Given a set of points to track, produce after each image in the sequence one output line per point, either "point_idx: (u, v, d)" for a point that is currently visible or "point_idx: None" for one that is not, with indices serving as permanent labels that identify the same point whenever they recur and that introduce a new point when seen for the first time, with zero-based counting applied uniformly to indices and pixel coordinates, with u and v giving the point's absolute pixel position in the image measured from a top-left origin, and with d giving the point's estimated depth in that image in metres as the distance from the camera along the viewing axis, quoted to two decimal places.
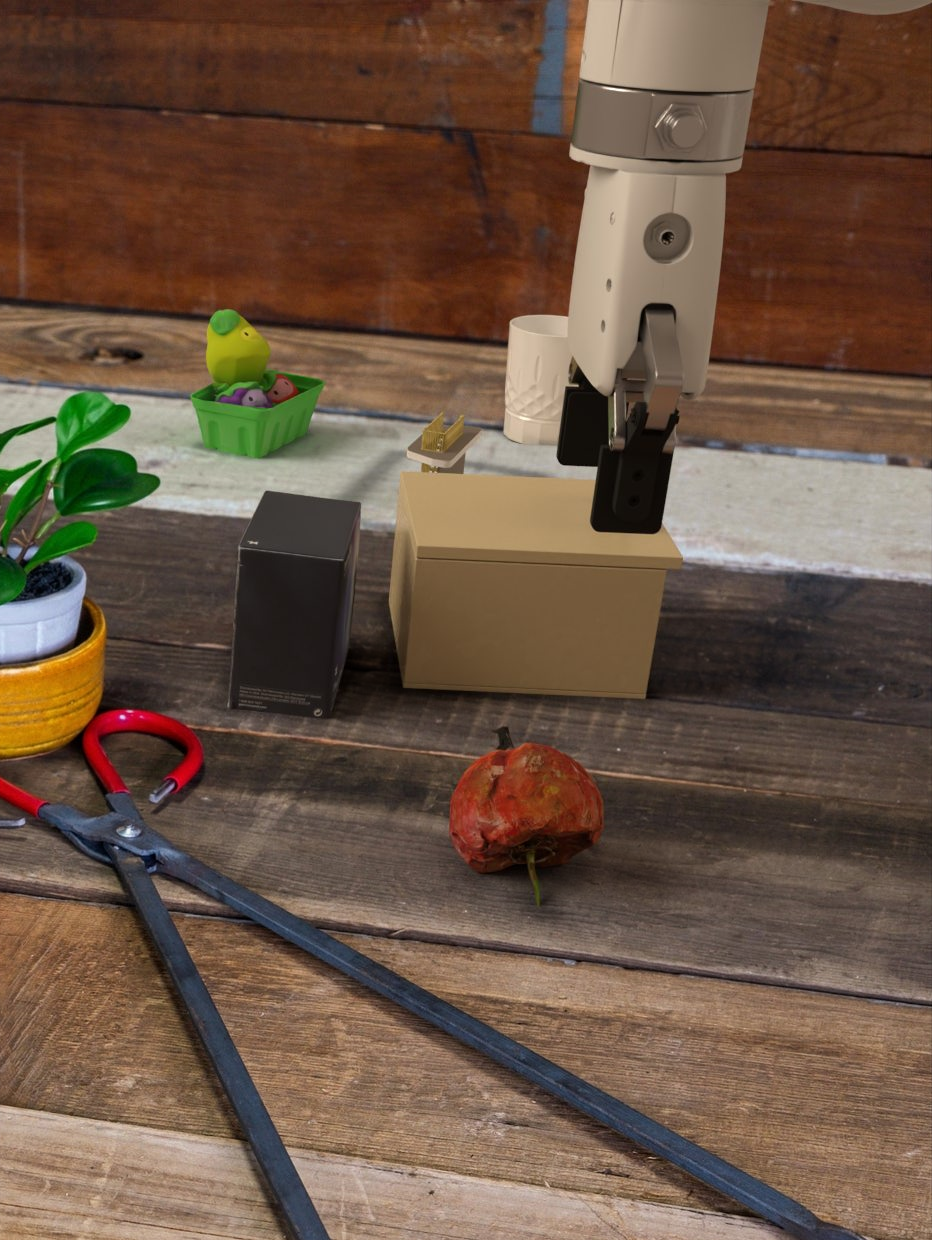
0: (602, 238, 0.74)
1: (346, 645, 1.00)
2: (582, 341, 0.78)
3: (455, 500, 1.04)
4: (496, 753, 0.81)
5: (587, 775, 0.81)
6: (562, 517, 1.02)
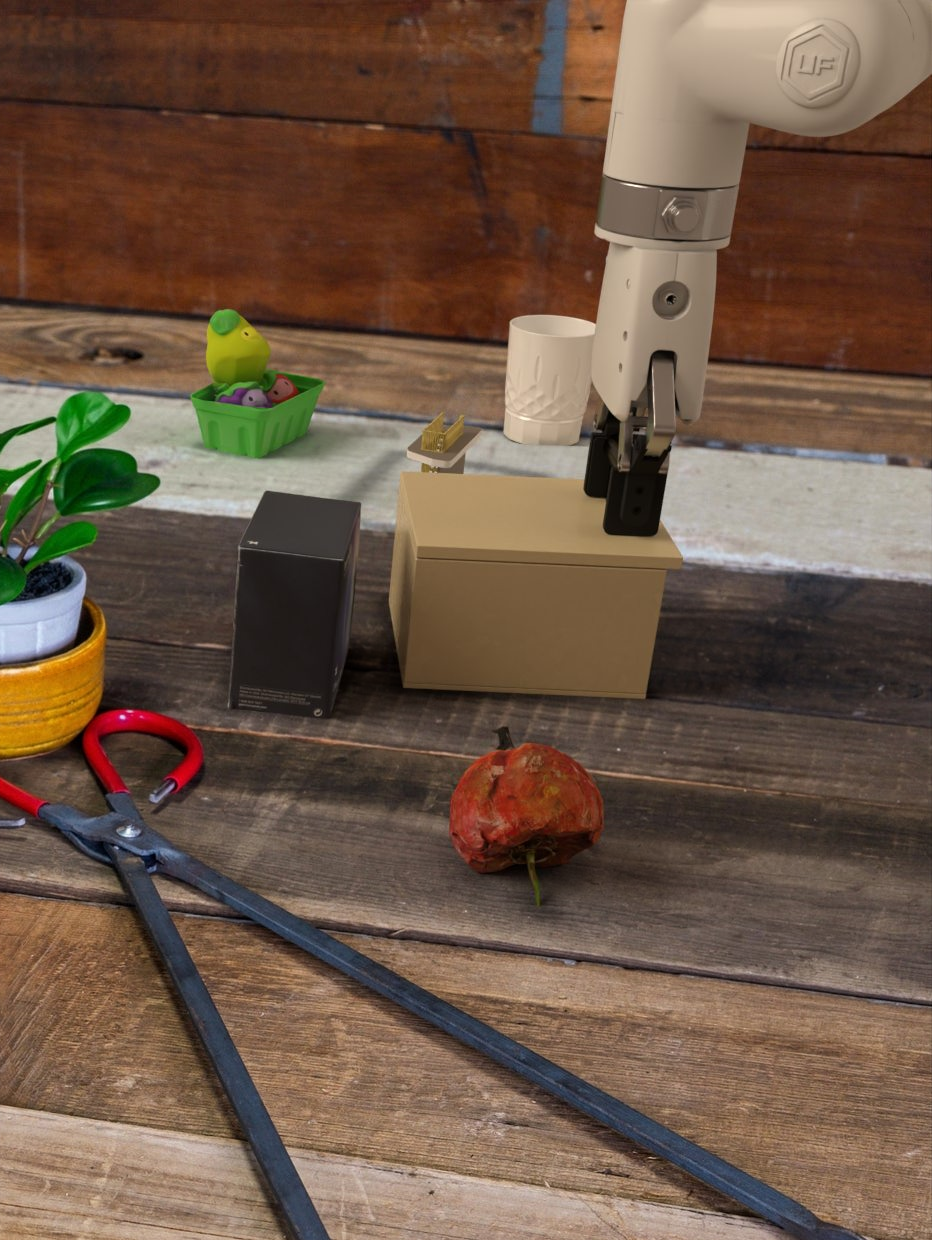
0: (620, 298, 0.95)
1: (346, 645, 1.00)
2: (603, 378, 0.99)
3: (455, 500, 1.04)
4: (496, 753, 0.81)
5: (587, 775, 0.81)
6: (562, 517, 1.02)
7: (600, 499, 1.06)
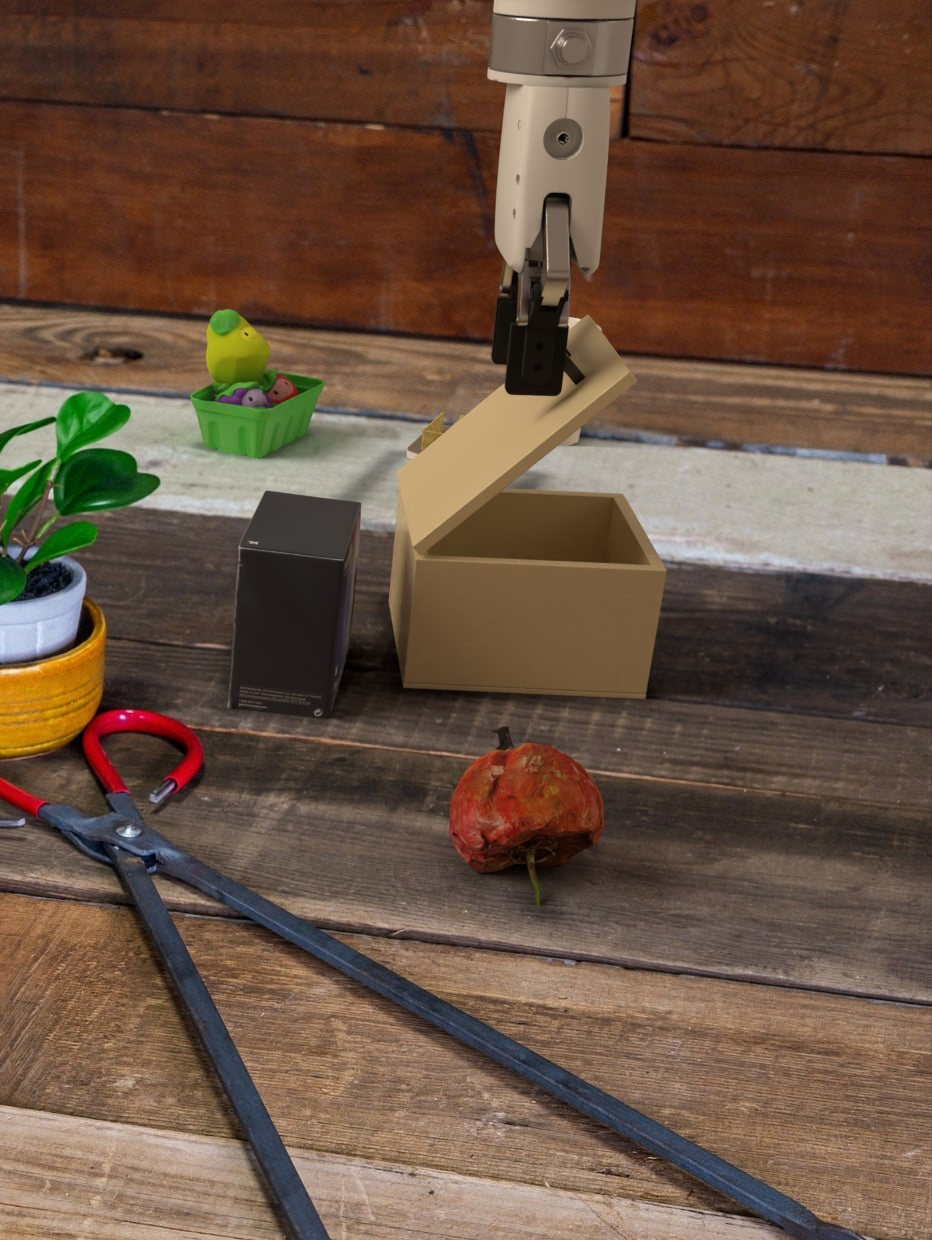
0: (513, 142, 0.91)
1: (346, 645, 1.00)
2: (501, 231, 0.95)
3: (440, 468, 1.03)
4: (496, 753, 0.81)
5: (587, 775, 0.81)
6: (526, 412, 1.00)
7: None
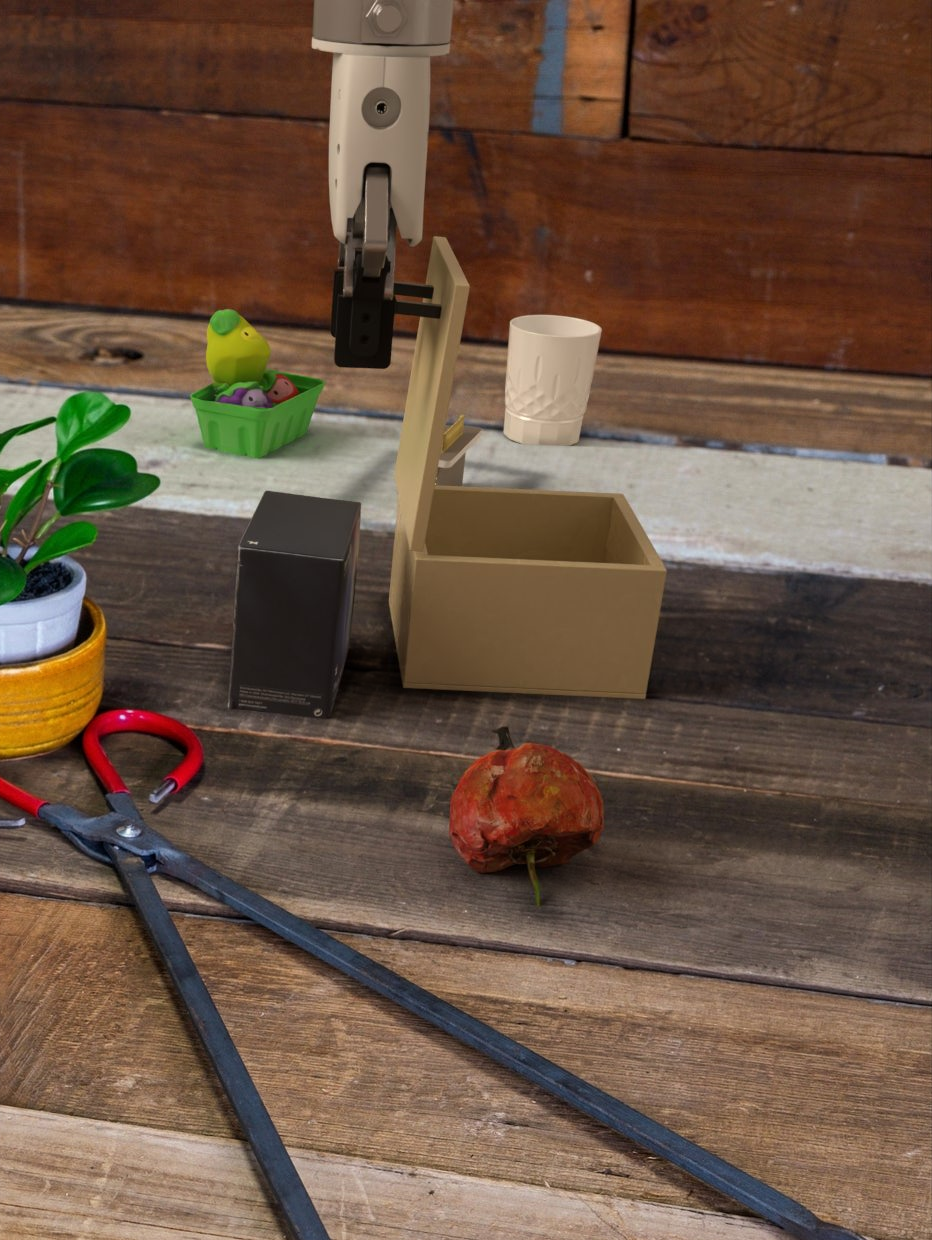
0: (335, 112, 0.91)
1: (346, 645, 1.00)
2: (330, 202, 0.95)
3: (407, 457, 1.03)
4: (496, 753, 0.81)
5: (587, 775, 0.81)
6: (427, 365, 0.98)
7: (430, 300, 1.00)
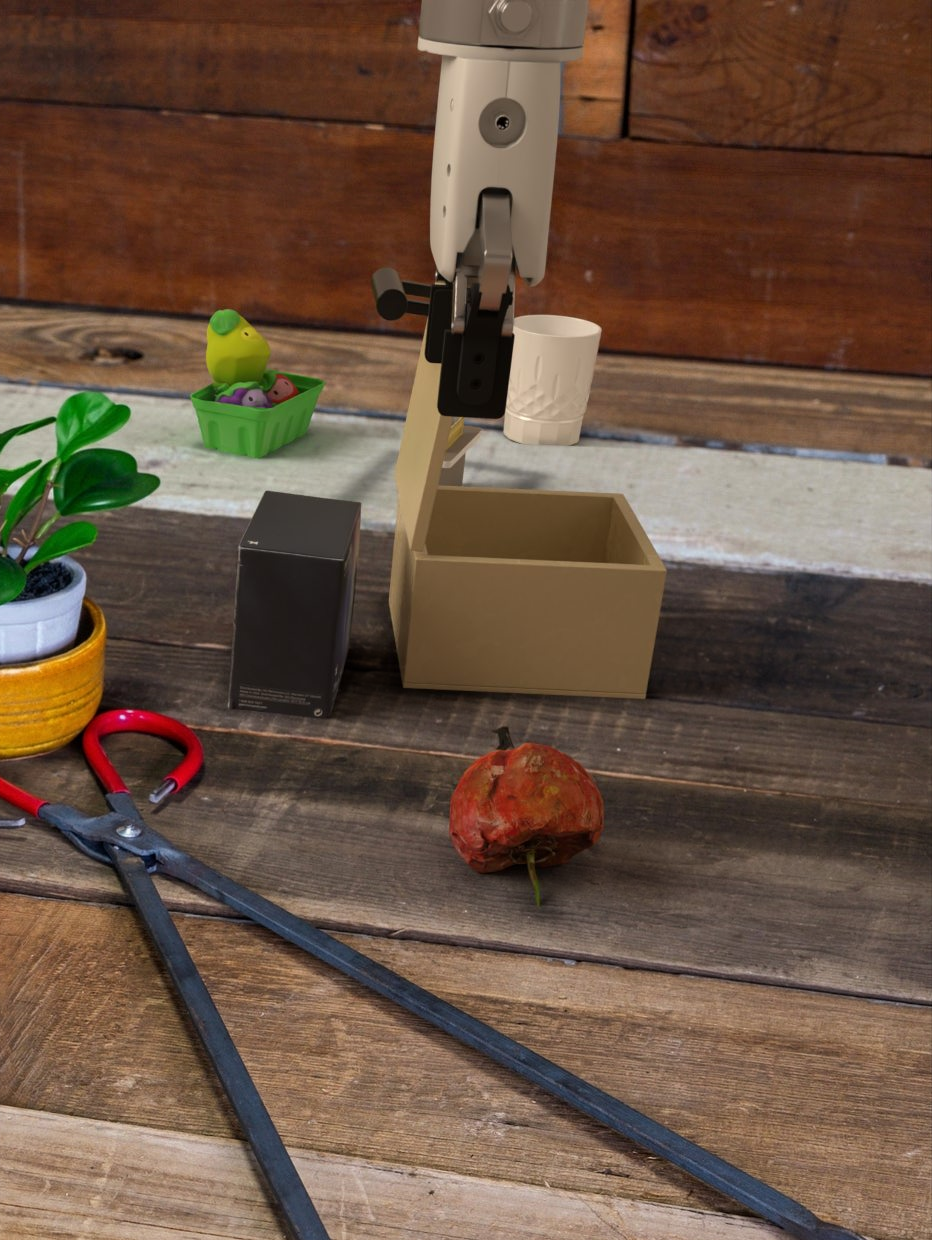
0: (445, 126, 0.76)
1: (346, 645, 1.00)
2: (433, 231, 0.80)
3: (409, 457, 1.03)
4: (496, 753, 0.81)
5: (587, 775, 0.81)
6: (434, 366, 0.98)
7: None
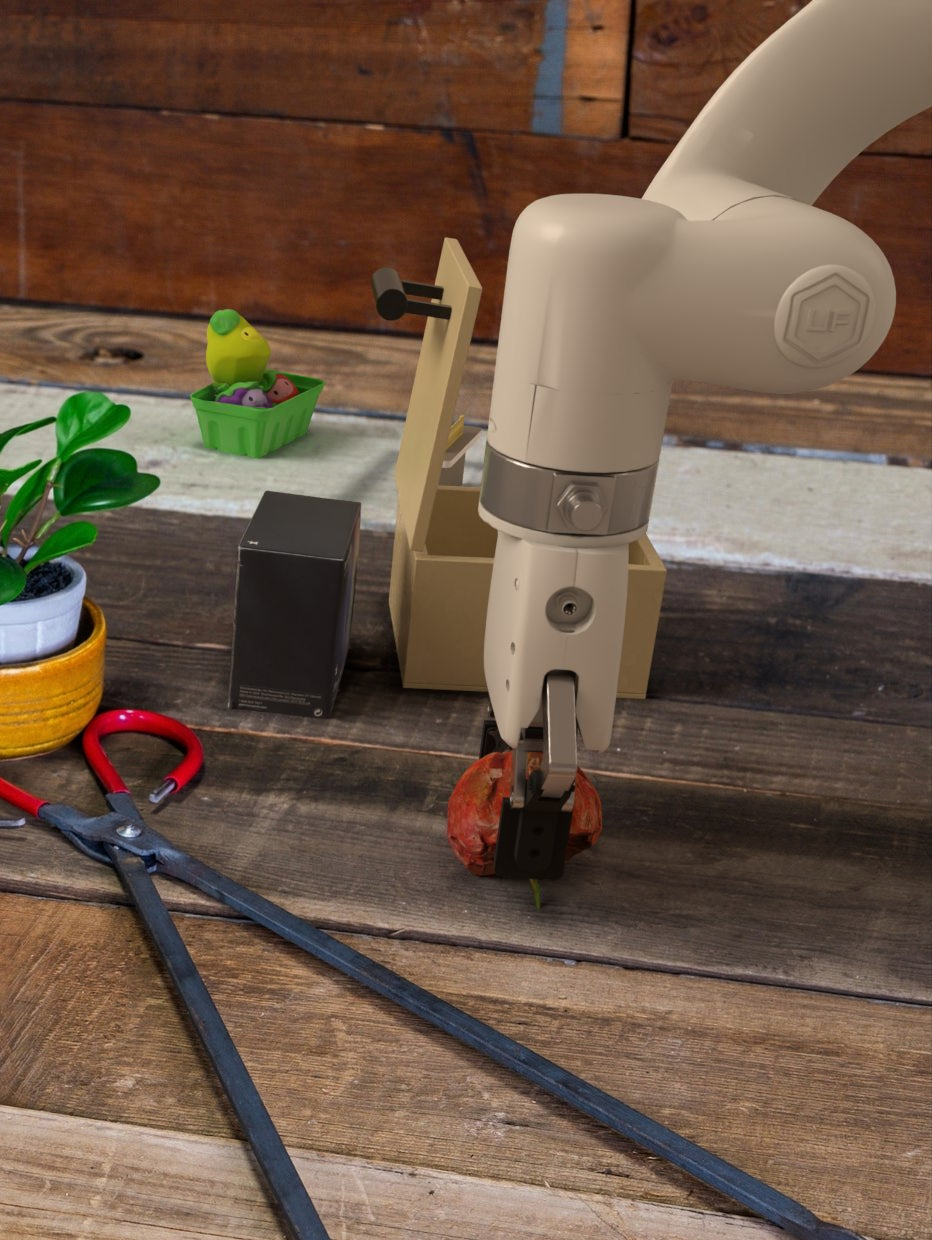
0: (508, 598, 0.74)
1: (346, 645, 1.00)
2: (492, 683, 0.78)
3: (409, 457, 1.03)
4: (494, 756, 0.81)
5: (585, 776, 0.81)
6: (434, 366, 0.98)
7: (439, 301, 1.00)
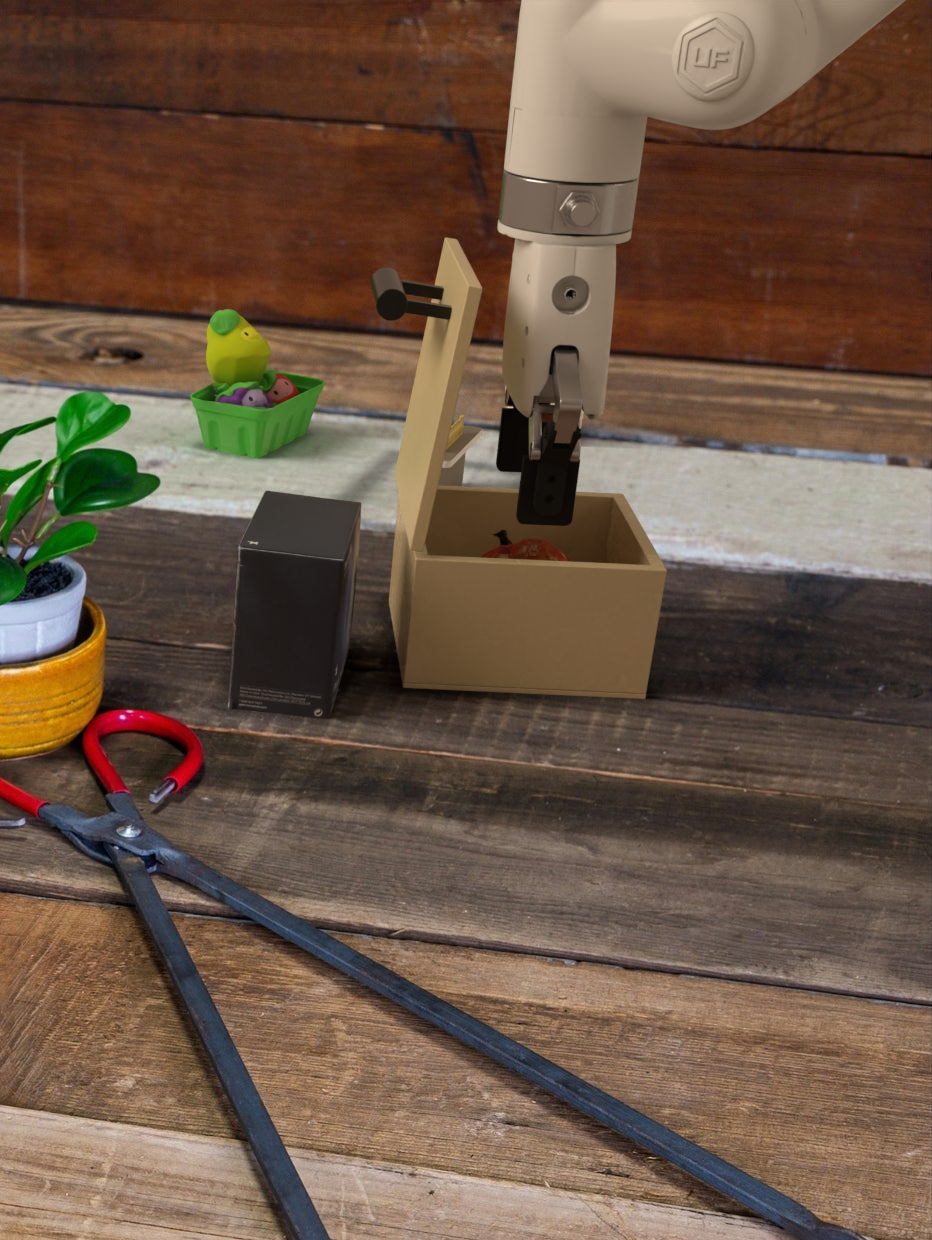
0: (522, 294, 0.95)
1: (346, 645, 1.00)
2: (510, 373, 0.99)
3: (409, 457, 1.03)
4: (501, 546, 1.04)
5: None
6: (434, 366, 0.98)
7: (439, 301, 1.00)
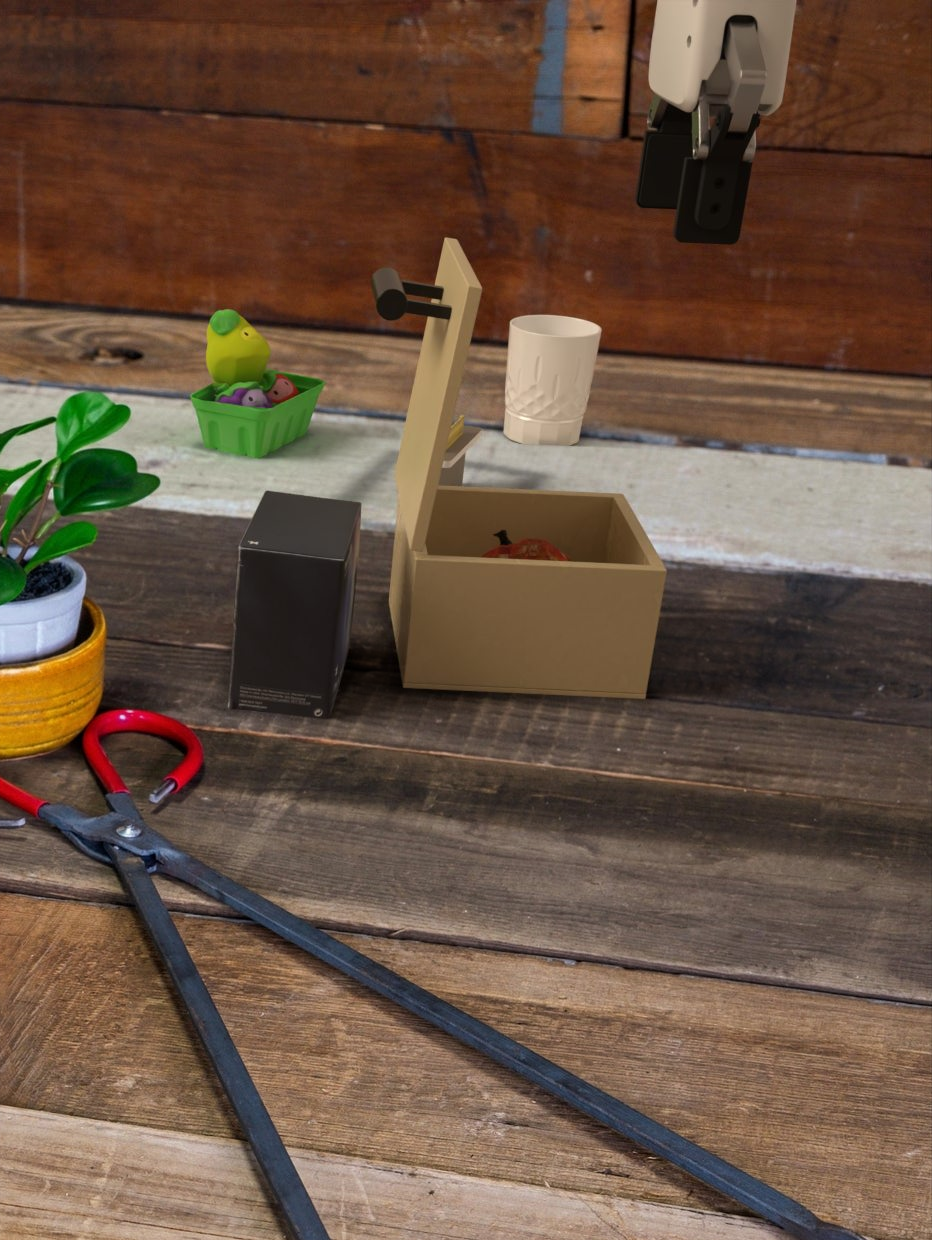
0: None
1: (346, 645, 1.00)
2: (666, 68, 0.84)
3: (409, 457, 1.03)
4: (501, 546, 1.04)
5: None
6: (434, 366, 0.98)
7: (439, 301, 1.00)
